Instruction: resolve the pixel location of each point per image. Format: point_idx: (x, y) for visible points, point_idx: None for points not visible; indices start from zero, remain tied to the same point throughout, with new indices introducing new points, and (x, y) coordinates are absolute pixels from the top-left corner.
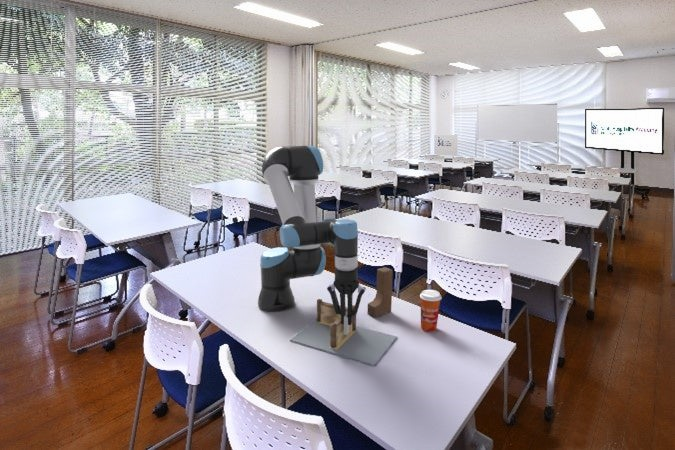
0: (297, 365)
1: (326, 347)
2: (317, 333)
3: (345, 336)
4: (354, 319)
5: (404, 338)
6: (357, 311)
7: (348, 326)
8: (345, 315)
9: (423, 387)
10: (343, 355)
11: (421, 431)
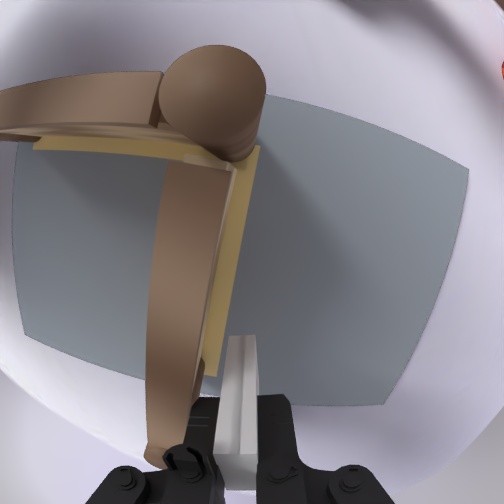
0: (135, 443)
1: None
2: (67, 260)
3: (217, 262)
4: (249, 146)
5: (484, 170)
6: (371, 474)
7: (257, 386)
8: (230, 476)
9: (471, 404)
10: None
11: (426, 472)
